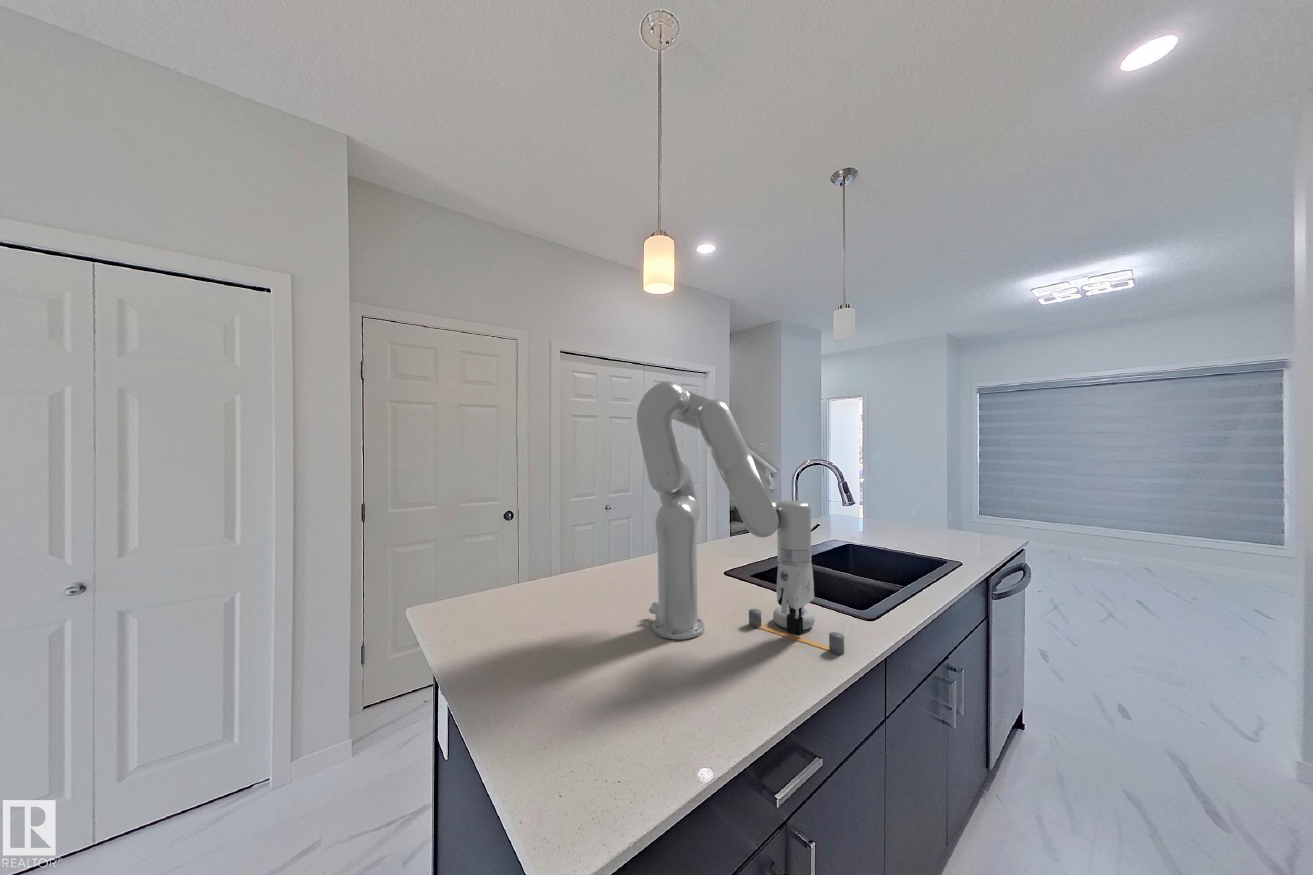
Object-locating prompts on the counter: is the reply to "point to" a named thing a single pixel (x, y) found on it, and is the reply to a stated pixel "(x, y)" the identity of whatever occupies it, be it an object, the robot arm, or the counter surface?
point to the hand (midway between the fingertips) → (794, 633)
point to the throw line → (834, 638)
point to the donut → (782, 618)
